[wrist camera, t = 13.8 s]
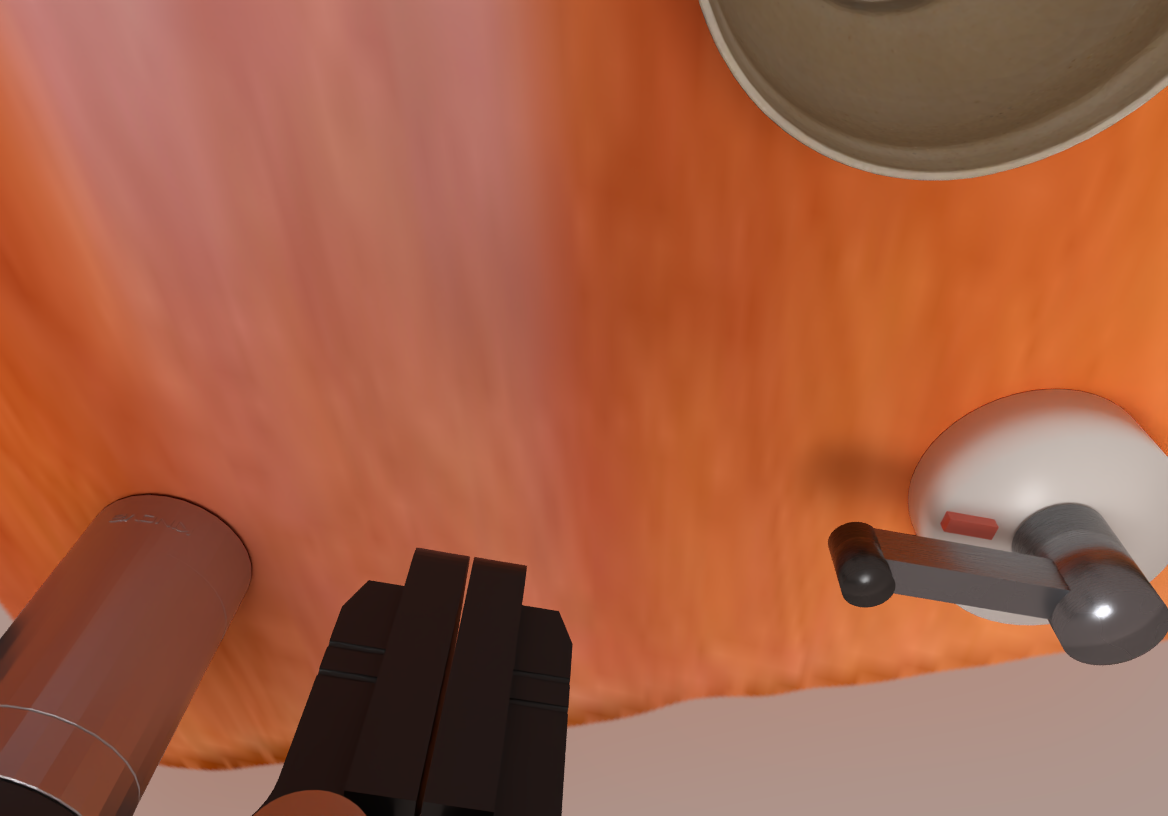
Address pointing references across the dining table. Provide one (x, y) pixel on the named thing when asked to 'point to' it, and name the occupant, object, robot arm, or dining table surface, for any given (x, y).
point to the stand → (1043, 477)
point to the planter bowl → (943, 76)
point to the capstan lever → (1018, 579)
